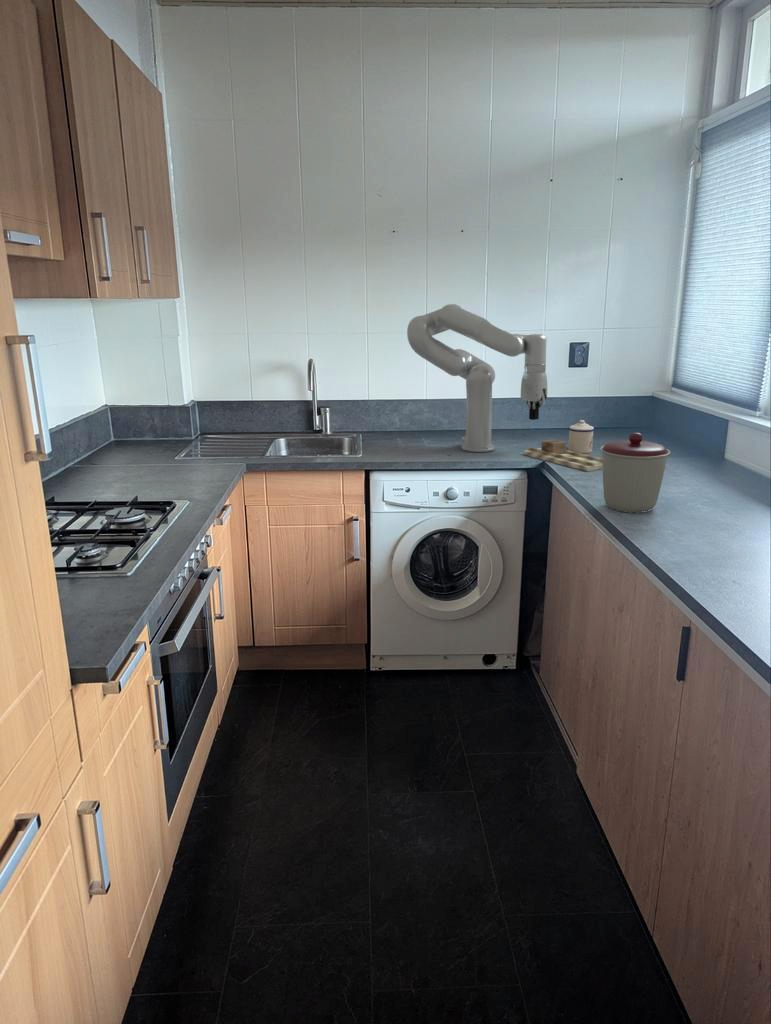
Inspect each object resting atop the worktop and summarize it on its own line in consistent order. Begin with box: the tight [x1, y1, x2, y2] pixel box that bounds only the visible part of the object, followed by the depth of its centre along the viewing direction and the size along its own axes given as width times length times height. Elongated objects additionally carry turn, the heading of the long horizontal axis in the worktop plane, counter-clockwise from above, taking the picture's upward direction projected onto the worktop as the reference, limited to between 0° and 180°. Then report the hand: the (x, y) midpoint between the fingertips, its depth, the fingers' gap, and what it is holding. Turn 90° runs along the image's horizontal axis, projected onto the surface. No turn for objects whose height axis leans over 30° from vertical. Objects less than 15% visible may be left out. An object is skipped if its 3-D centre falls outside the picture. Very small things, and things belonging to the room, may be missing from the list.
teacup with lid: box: [567, 419, 595, 455], centre depth 273 cm, size 12×9×12 cm
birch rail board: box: [523, 446, 603, 472], centre depth 258 cm, size 32×12×2 cm, turn 31°
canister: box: [599, 432, 671, 513], centre depth 198 cm, size 18×18×21 cm
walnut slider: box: [540, 439, 567, 454], centre depth 263 cm, size 6×6×4 cm
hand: (533, 419), depth 270 cm, fingers closed
